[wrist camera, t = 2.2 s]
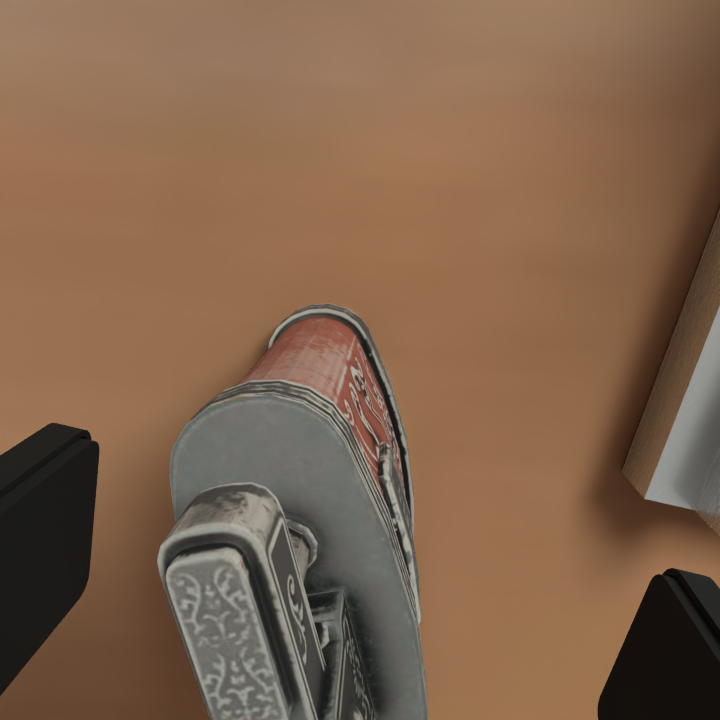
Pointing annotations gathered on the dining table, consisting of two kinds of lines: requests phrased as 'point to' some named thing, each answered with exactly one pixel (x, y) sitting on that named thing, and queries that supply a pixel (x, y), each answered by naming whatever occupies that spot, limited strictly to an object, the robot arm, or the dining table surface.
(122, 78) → the dining table surface
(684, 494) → the finger rail
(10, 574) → the robot arm
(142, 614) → the dining table surface
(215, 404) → the lighter
